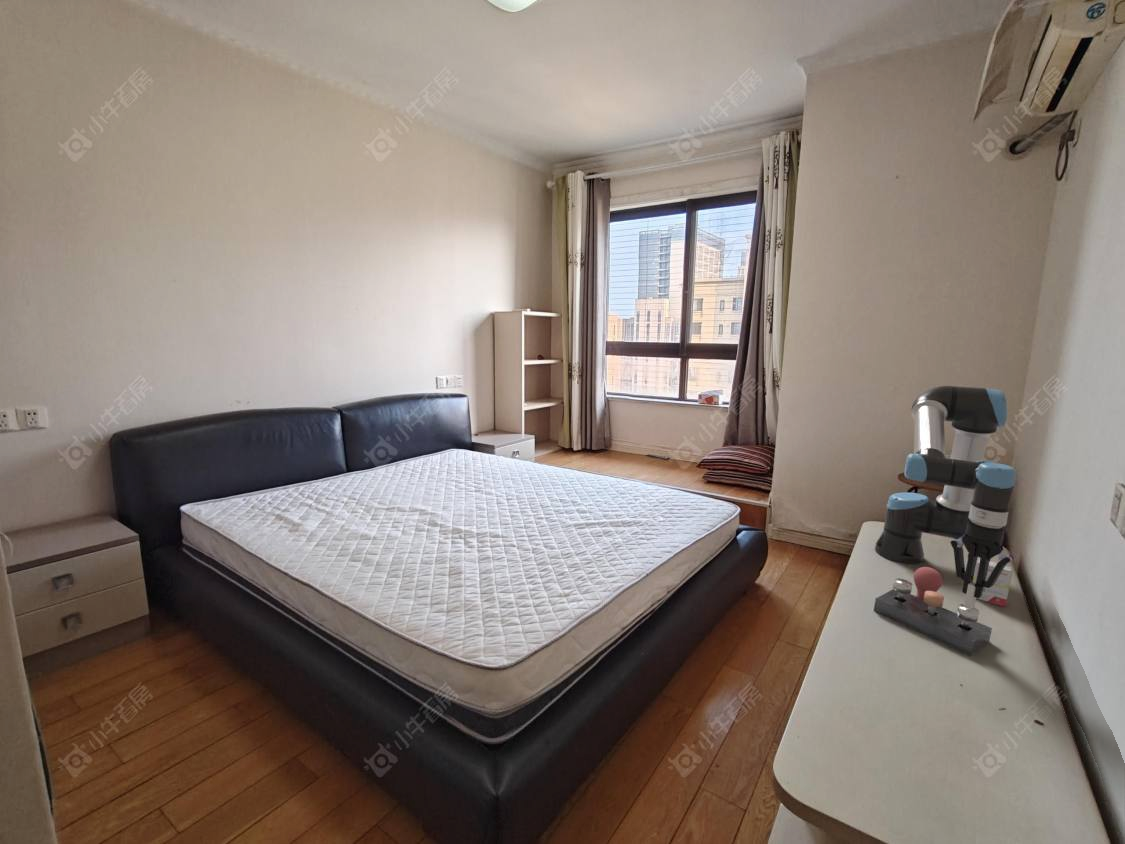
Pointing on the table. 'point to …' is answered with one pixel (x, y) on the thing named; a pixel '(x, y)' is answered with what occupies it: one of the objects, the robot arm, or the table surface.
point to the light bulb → (927, 581)
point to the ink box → (996, 585)
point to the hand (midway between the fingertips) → (969, 606)
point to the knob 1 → (902, 588)
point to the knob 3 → (967, 615)
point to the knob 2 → (933, 601)
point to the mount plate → (933, 622)
